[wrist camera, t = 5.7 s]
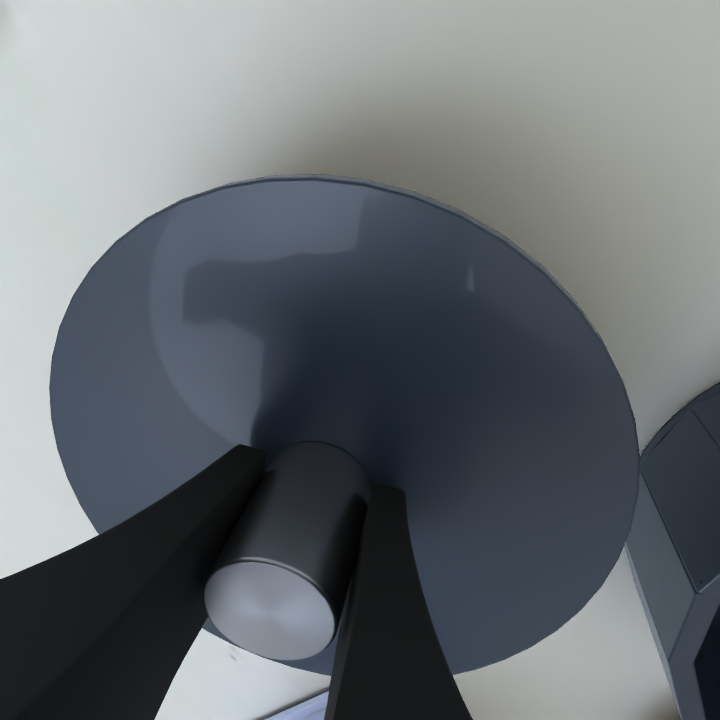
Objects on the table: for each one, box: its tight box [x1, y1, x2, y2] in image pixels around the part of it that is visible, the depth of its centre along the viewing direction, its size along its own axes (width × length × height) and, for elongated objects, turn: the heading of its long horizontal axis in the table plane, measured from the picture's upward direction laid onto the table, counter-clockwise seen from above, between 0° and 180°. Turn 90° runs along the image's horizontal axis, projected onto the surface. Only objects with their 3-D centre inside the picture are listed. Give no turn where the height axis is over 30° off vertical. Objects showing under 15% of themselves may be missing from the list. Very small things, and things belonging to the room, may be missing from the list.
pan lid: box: [49, 174, 640, 676], centre depth 11 cm, size 13×13×4 cm
